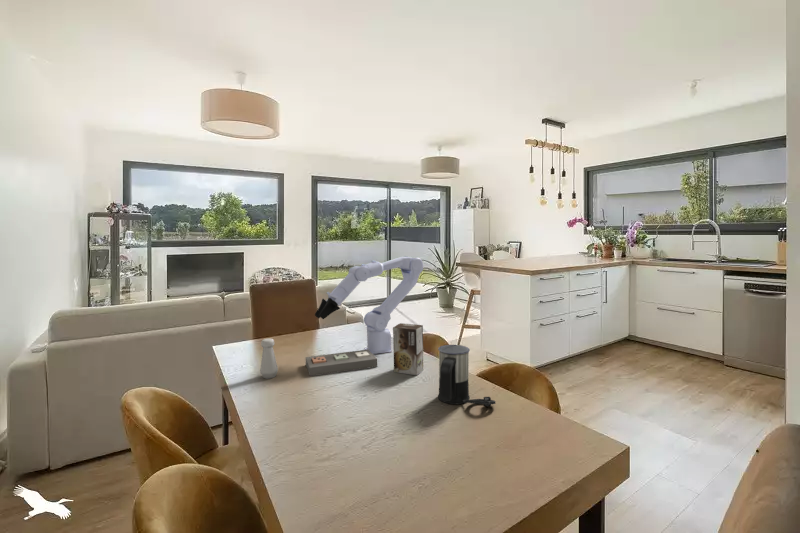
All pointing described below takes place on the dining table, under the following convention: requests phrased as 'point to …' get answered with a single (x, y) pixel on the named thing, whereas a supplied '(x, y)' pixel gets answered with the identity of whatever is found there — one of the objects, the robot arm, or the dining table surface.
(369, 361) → the button board
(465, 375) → the milk frother
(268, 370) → the salt shaker
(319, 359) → the button three
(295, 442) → the dining table surface
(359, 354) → the button one
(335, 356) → the button two
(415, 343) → the printed cardboard box
